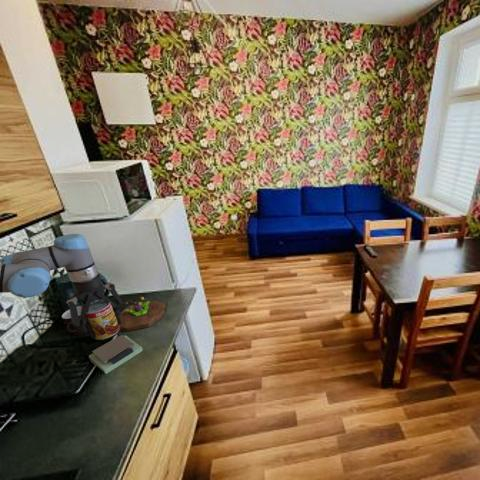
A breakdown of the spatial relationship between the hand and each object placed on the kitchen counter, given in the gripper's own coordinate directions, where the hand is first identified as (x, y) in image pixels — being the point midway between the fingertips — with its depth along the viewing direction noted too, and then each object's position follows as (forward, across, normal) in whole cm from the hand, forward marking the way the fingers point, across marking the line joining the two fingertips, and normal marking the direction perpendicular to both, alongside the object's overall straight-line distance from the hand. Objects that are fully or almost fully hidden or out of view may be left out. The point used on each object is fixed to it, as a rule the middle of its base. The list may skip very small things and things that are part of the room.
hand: (106, 329), depth 101 cm
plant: (+14, +18, +16) cm, 28 cm away
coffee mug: (+14, -2, +29) cm, 32 cm away
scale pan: (+10, 0, 0) cm, 10 cm away
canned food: (+1, 0, 0) cm, 1 cm away
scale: (+14, 0, -1) cm, 14 cm away
